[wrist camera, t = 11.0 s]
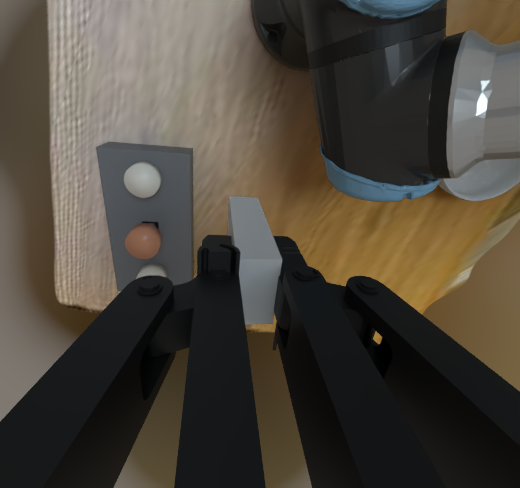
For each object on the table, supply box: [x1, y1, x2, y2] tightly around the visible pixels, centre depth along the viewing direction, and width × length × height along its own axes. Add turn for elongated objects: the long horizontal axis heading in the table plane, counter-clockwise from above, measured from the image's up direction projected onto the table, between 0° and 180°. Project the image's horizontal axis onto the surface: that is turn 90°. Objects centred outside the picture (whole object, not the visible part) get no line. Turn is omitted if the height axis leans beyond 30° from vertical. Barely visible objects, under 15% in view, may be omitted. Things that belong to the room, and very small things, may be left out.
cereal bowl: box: [438, 158, 520, 201], centre depth 46 cm, size 17×17×7 cm
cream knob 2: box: [136, 263, 168, 279], centre depth 48 cm, size 4×4×7 cm
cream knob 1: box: [124, 161, 162, 198], centre depth 41 cm, size 4×4×7 cm
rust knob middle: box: [125, 222, 162, 259], centre depth 42 cm, size 4×4×7 cm
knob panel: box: [96, 142, 194, 291], centre depth 46 cm, size 12×23×5 cm, turn 174°
